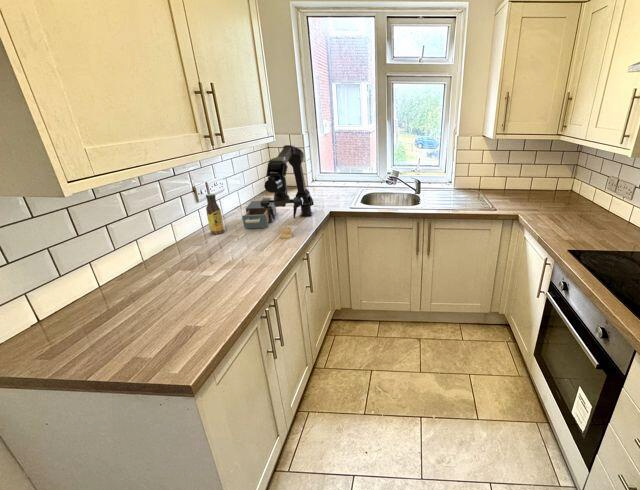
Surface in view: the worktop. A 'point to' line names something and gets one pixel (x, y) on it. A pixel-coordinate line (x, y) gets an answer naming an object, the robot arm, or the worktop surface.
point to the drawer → (256, 218)
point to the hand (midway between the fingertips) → (284, 218)
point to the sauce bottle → (214, 215)
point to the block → (286, 232)
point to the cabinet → (257, 205)
